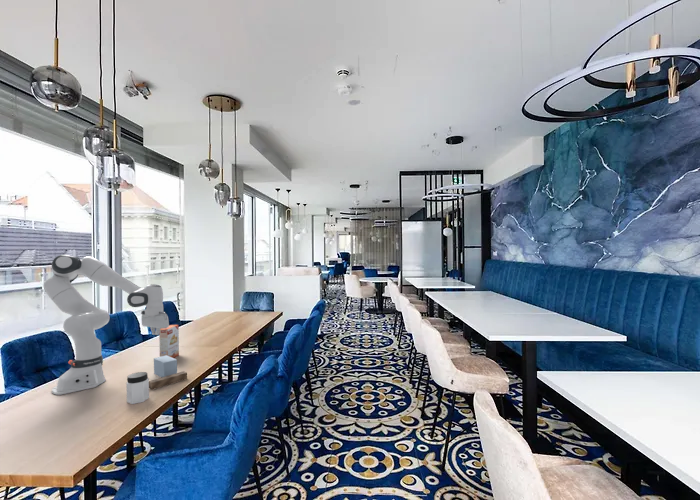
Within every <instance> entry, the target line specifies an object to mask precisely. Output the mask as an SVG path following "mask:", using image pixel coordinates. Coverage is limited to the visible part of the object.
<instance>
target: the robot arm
mask: <svg viewBox="0 0 700 500" xmlns="http://www.w3.org/2000/svg"><path fill="white" fill-rule="evenodd" d="M51 268H52V269H51V270H52V273H53V275H52V276H51V277H49V278H47V279H46V280H45V281H44V283H43V288H44V290H45V292H46V294H47V296H48V297H49V298H50V300H51V301H52V302H53V303H54V304H55V305H56V307H58V309H59V310H60V311H61V312H62V313H64V314H66V315H67V314H68V315H70V316H69V317H68V318H66V319H65V320H64V322H63V327H62V328H63V330H64V332H65V333H66V334H68V335H69V336H70V337H71V338H72V340H73V343H74V350H75V359H74V360H73V359H69V361H68V362H67V363H68V364H69V365H70V367H69V369H68V370H66V371H65V372H64V373H63V374H61V375H60V376H59V377H58V379H57V383H56V384H57V385H56V386H54V387H52V388H51V393H52V394H53V395H57V396H61V395H65V394H71V393H75V392H76V393H77V392H80V391H84V390H88V389H93V388H96V387H98V386H99V385H102V384H104V382H105V381H107V379H106V376H105V375H104V369H103V363H104V360H103V359H104V358H103V354H102V341H101V339H99V338H98V337H97V336H96V333H95V331H96V330H98V329H101V328H103V327H104V326H105V325H107V324H108V323H109V322H110V314H109V311H107V310H105V309H103V308H99V307H97V306H96V305H94V304H92V303H91V302H89V301H88V300H87V299H85V297H83V295H82V294H81V293H80V292H79V291H78V289H76V288H75V287H74V286H73V284H72V282H74V281H75V280H77V278H78V276H79V275H82V276H85V277H86V278H88V279H89V280H91V281H92V282H94V283H96V284H98V285H100V286H105V287H113V288H117V289H120V290H122V291H123V292H125V293H127V294H128V295H127V299H126V301H127V304H128V305H129V306H131V307H132V308H140V307H144V306H145V307H146V308H145V309H143V310H141V312H140V314H141V325H142V327H147V328H150V331H151V334H152V335H155V336H159V331H160V329H162V328H168V327H169V326H170V322H169V321H170V320H169V316H168V314H167V313H166V311H164V304H163V302H164V292H163V288H162V285H159V284H155V283H154V284H152V283H151V284H150V283H149V284H147V285H145V286H144V287H140V286H138V285H137V284H135V283H134V282H132V281H130V280H128V279H127V278H126V277H124V276H122V275H121V274H119V273H118V272H117V271H116V270H115V269H113V268H111V267H110V266H109V265H107V264H106V263H104V262H103V261H101V260H99V259H97V258H95V257H92V256H84V257H82V258H79V257H77V256H73V255H69V254H60V255H57V256H56V257H54V258H53V260H52V262H51Z"/></svg>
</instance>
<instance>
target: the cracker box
mask: <svg viewBox="0 0 700 500" xmlns="http://www.w3.org/2000/svg"><path fill="white" fill-rule="evenodd" d="M179 327H180V326H179V324H169V327H168V328H161V329H160V331H159V335H158V336H159V339H158V340H159V357H161V356H166V355H167V356H169V357H172V358H174V359H175V358H176V357H178V356H179V355H180V345H179V343H180V341H179V340H180V337H179V334H180V333H179V332H180V331H179Z"/></svg>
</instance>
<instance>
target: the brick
mask: <svg viewBox="0 0 700 500" xmlns="http://www.w3.org/2000/svg"><path fill="white" fill-rule="evenodd" d="M176 373H178V360H177V359H176V358H175V357H174V358H172V357H169V356H167V355H166V356H161V357H160V356H159V357H158V356H157V357H154V358H153V374H154V375H156V376H157V377H159V378H162V377H165V376H169V375H172V374H176Z"/></svg>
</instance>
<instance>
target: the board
mask: <svg viewBox="0 0 700 500" xmlns="http://www.w3.org/2000/svg"><path fill="white" fill-rule="evenodd" d="M185 380H188V372H187V371H184V370H183V371H180V372H179V371H178V372H177V373H176V374H172V375H169V376H165V377H162V378H161V377H159V378H154V379H151V380H149V390H151V391H153V390H156V389H159V388H162V387H166V386H169V385H172V384H175V383H179V382H182V381H185Z"/></svg>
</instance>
